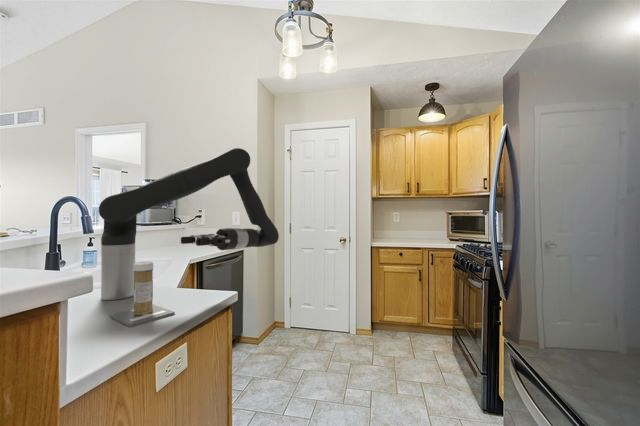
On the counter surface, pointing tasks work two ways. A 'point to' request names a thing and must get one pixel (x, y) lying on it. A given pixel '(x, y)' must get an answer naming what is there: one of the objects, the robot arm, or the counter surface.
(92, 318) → the counter surface
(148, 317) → the letter mat
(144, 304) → the spice jar
